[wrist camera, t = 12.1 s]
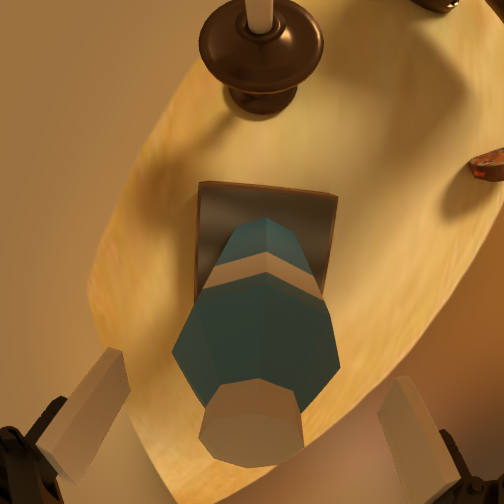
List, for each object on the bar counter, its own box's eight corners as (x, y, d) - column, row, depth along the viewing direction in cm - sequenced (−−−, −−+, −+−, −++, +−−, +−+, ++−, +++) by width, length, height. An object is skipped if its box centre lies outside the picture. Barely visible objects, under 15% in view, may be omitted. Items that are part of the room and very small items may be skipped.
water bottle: (296, 297, 34) (332, 489, 10) (220, 290, 35) (153, 474, 11) (307, 221, 32) (407, 358, 8) (224, 213, 32) (116, 332, 8)
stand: (208, 180, 37) (197, 182, 31) (328, 193, 37) (339, 196, 31) (202, 292, 41) (193, 310, 36) (311, 303, 41) (317, 323, 35)
